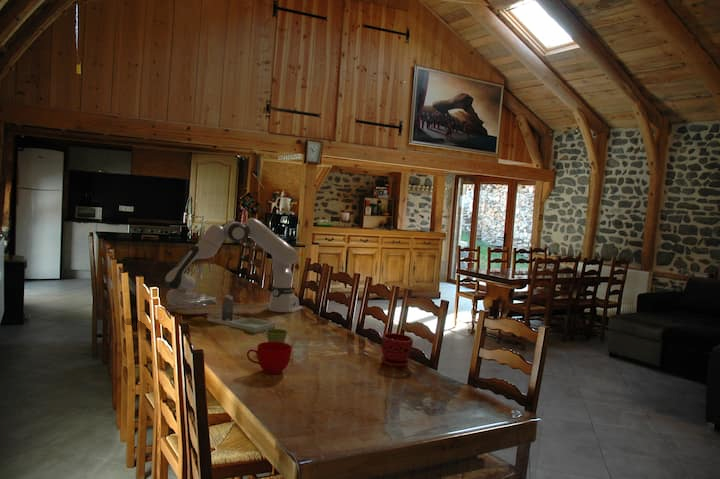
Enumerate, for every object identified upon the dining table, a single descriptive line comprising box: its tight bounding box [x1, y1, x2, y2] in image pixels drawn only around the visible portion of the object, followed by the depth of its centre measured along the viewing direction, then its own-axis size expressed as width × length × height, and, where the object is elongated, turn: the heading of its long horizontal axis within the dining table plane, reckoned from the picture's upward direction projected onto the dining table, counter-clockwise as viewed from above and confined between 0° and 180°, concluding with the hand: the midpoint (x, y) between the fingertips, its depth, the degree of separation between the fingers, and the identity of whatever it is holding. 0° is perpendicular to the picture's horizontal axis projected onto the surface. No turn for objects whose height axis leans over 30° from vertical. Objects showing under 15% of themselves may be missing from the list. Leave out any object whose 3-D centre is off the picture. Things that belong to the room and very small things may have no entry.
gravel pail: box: [221, 294, 235, 321], centre depth 283 cm, size 6×6×13 cm
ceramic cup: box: [246, 341, 293, 375], centre depth 209 cm, size 13×17×10 cm
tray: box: [206, 314, 247, 326], centre depth 283 cm, size 14×14×3 cm
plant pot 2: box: [380, 332, 414, 368], centre depth 232 cm, size 13×13×12 cm
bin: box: [229, 317, 276, 335], centre depth 275 cm, size 16×16×3 cm
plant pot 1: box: [265, 328, 289, 343], centre depth 238 cm, size 9×9×9 cm
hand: (210, 304), depth 288 cm, fingers open, 8 cm apart
